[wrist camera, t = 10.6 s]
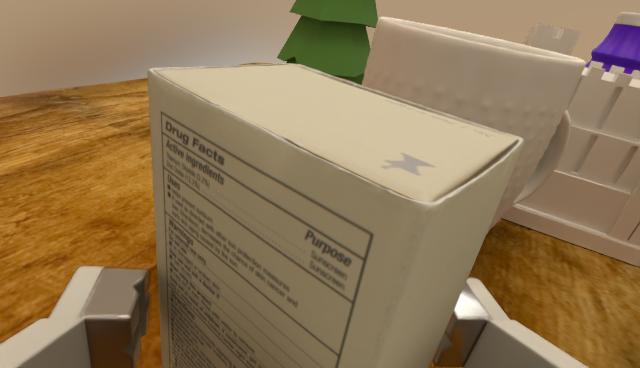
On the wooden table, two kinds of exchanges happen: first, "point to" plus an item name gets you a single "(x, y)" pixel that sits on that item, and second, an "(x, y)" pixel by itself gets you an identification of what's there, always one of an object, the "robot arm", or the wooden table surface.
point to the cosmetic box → (312, 218)
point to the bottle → (621, 45)
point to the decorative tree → (332, 37)
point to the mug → (482, 90)
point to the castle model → (592, 161)
